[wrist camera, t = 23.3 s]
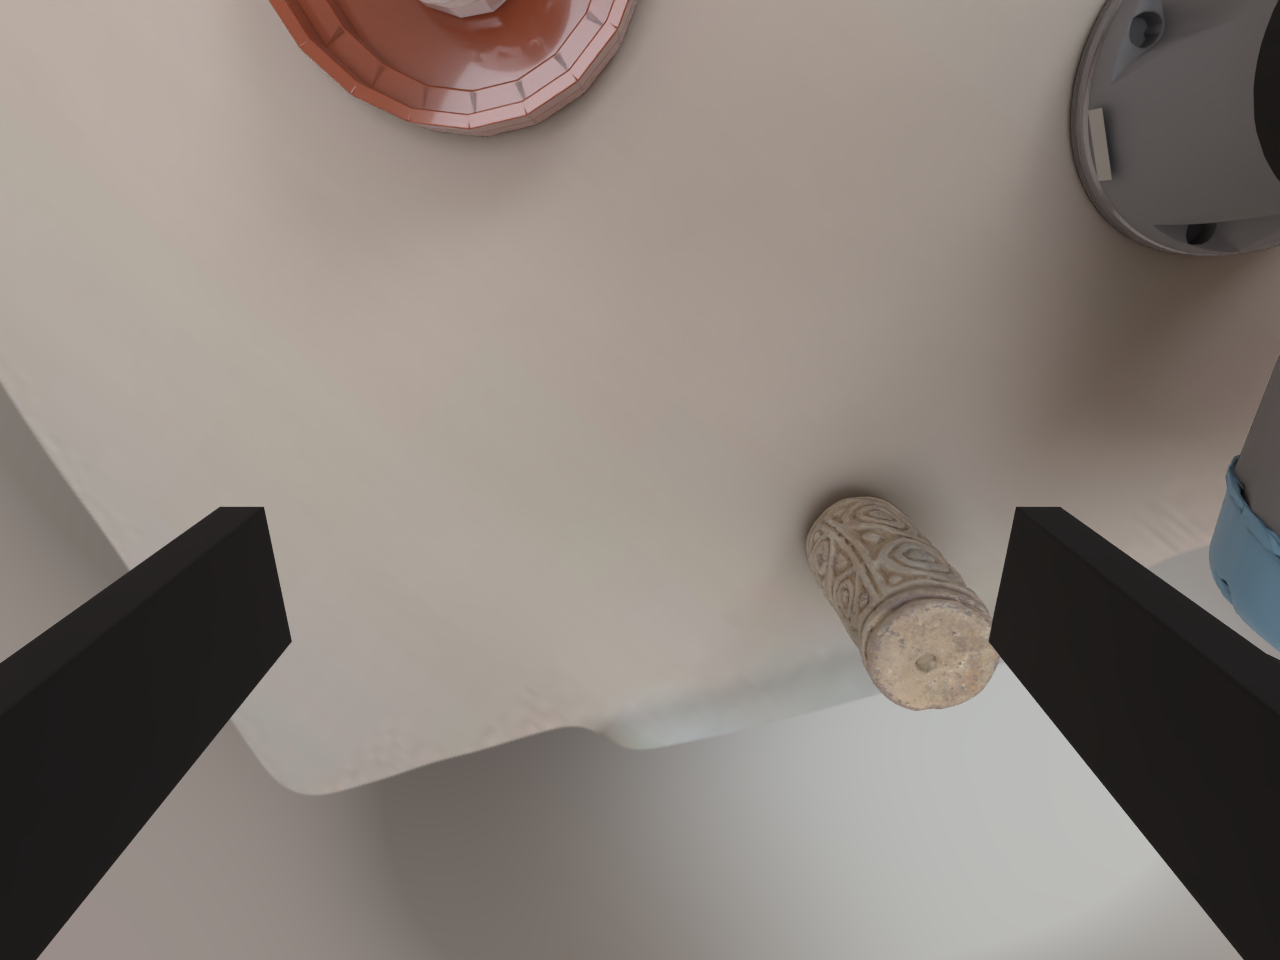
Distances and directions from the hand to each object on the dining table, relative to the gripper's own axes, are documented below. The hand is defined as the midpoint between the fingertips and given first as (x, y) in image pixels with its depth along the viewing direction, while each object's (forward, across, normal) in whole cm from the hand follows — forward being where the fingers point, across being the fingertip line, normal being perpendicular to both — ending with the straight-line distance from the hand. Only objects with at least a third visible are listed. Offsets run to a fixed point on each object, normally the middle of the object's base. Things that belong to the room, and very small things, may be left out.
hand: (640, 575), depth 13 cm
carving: (+27, -13, +12) cm, 32 cm away
